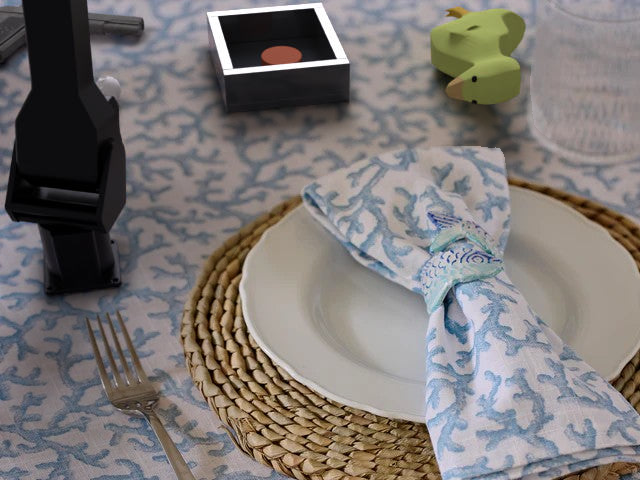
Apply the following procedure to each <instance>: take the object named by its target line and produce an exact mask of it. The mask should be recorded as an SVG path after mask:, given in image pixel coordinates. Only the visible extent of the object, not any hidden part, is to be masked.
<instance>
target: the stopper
mask: <svg viewBox="0 0 640 480" xmlns="http://www.w3.org/2000/svg"><path fill="white" fill-rule="evenodd" d="M261 61H262V66H271V65H282V64H292V63H302V55H301V53H300V51H298V50H297V49H295V48H292V47H287V46H276V47H272V48H269V49H266V50H265V51H264V52H263V53H262V55H261Z"/></svg>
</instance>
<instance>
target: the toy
mask: <svg viewBox="0 0 640 480" xmlns="http://www.w3.org/2000/svg"><path fill="white" fill-rule="evenodd" d="M444 12H448V13H447V14H446V15H445V16H444V17H445V18H451V17H452V18H455V19H454V20H451V21H448V22H446V23H443V24H440V25H438V26H435V27H433V28H432V29H431V30H430V35H429V36H430V62H431V64H432V65H433V66H434V67H435V68H436V69H437V70H439V71H440V72H441V73H444V74H446V75H447V76H449V77H452V78H454V79H453V80H451V81H450V82H449V83H448V84H447V86H446V88H445V94H446V95H447V96H448V97H449V98H451V99H455V100H460V101H463V102H469V103H471V104H473V105H496V104H497V105H498V104H502V103H505V102H508V101H510V100H512V99H514V98H516V97H517V96H518V95H519V94H520V92H521V86H522V85H521V84H522V75H521V73H522V72H521V66H520V63H519V62H518V60H517V59H515V58H513V57H511V56H512V54H513V53H514V51H515V50H517V48H518V47H519V45H520V43H521V42H522V40H523V39H524V36H525V33H526V28H527V27H526V21H525V19H524V18H523V17H521V16H520V15H519V14H517V13H515V12H514V11H512V10H509V9H506V8H489V9H485V10H480V11H470V10H467V9H465V8H464V7H462V6H455V7H451V8H447V9H445V10H444Z"/></svg>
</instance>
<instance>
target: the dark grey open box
mask: <svg viewBox="0 0 640 480" xmlns="http://www.w3.org/2000/svg"><path fill="white" fill-rule="evenodd" d="M205 15H206V26H207V39H208V48H209V52H210V55H211V60H212V63H213V67H214V71H215V74H216V78H217V82H218V85H219V89H220V93H221V96H222V100H223V103H224V107H225V110H226V114H231V113H241V112H251V111H261V110H270V109H271V110H272V109H281V108H282V109H283V108H291V107H300V106H310V105H320V104H331V103H341V102H349V101H350V95H351V93H350V91H351V90H350V89H351V63H350V59H349V58H348V56H347V54H346V52H345V49H344V47H343V46H342V44H341V42H340V39H339V37H338V35H337V33H336V31H335V28H334V26H333V23H332V21H331V19H330V18H329V15H328V13H327V11H326V10H325V7H324V4H323V3H322V2H314V3H303V4H302V3H301V4H291V5H279V6H278V5H277V6H267V7H266V6H265V7H254V8H244V9H233V10H232V9H231V10H220V11H219V10H218V11H208V12H206V13H205ZM276 46H287V47H292V48H295V49H297V50H298V51H300V53H301V55H302V63H292V64H282V65H271V66H262V61H261V55H262V53H263V52H264V51H265V50H266V49H269V48H272V47H276Z"/></svg>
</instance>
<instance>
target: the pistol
mask: <svg viewBox="0 0 640 480" xmlns="http://www.w3.org/2000/svg"><path fill="white" fill-rule="evenodd" d="M88 17H89V29H90V35H99V36H105V35H115V36H127V37H128V36H129V37H140V36H141V35H142V34H143V32H144V31H145V21H144V18H143V17H142V16H130V15H119V14H118V15H117V14H110V13H109V14H107V13H97V12H88ZM24 44H27V43H26V35H25V26H24V18H23V9H22V4H20V5H19V6H18V5H17V6H15V5H4V6H0V63H1V64H2V63H3V62H4V61H5V59H6V58H7V57H9V56H10V55H12V54H13V53H14V52H15V51H16V50H18V49H19V48H20V47H22V46H23V45H24Z"/></svg>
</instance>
